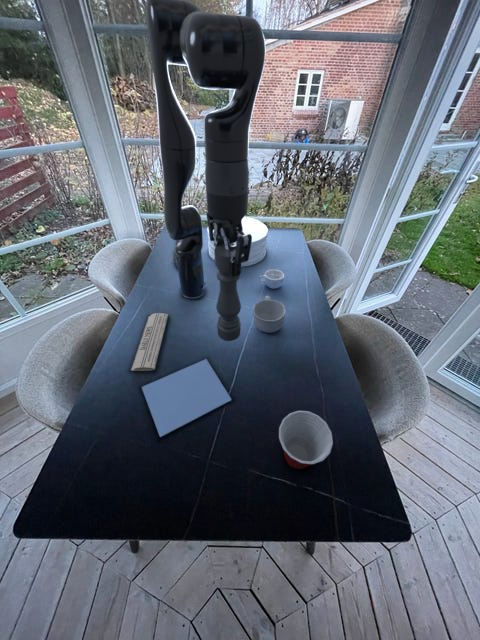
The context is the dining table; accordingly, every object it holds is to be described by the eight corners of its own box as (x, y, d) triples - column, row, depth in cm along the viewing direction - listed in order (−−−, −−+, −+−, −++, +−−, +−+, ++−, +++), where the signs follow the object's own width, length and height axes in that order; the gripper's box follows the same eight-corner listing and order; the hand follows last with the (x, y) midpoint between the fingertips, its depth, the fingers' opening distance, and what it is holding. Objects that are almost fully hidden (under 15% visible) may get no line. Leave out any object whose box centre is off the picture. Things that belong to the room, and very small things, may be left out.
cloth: (141, 387, 74) (141, 387, 74) (206, 359, 82) (206, 358, 82) (160, 437, 64) (159, 437, 64) (231, 400, 72) (231, 399, 72)
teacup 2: (281, 339, 89) (284, 322, 83) (249, 334, 90) (250, 317, 84) (284, 312, 98) (287, 295, 93) (255, 308, 100) (257, 291, 94)
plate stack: (215, 235, 142) (214, 214, 134) (267, 240, 139) (269, 218, 131) (202, 263, 122) (200, 240, 114) (263, 269, 119) (265, 246, 111)
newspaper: (155, 370, 78) (153, 367, 77) (130, 370, 78) (129, 367, 77) (168, 316, 95) (167, 312, 94) (148, 316, 95) (147, 312, 94)
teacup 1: (282, 280, 113) (284, 270, 109) (282, 291, 108) (284, 280, 104) (258, 279, 114) (259, 268, 110) (258, 289, 108) (259, 278, 104)
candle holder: (243, 327, 74) (246, 245, 57) (236, 343, 70) (237, 260, 52) (222, 322, 75) (219, 240, 58) (214, 337, 71) (208, 254, 54)
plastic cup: (269, 434, 66) (274, 411, 57) (311, 431, 66) (323, 407, 58) (277, 484, 58) (285, 465, 49) (325, 480, 59) (341, 460, 50)
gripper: (268, 195, 44) (260, 280, 55) (225, 173, 52) (226, 250, 64) (229, 203, 41) (229, 291, 52) (190, 178, 50) (198, 258, 61)
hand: (228, 268), depth 58 cm, fingers closed on candle holder, 5 cm apart
